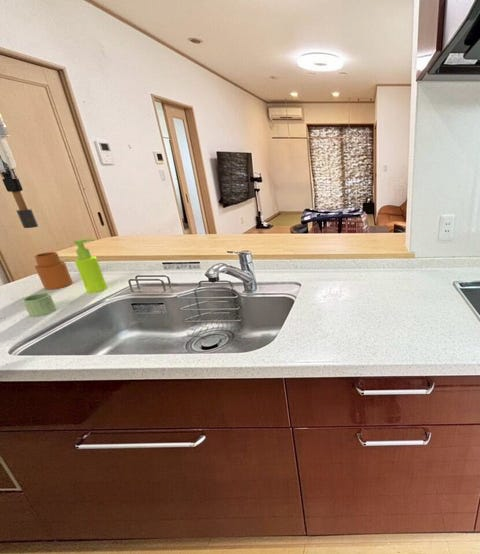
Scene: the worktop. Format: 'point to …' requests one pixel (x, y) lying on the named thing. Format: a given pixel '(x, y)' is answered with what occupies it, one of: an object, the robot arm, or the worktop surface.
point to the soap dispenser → (89, 268)
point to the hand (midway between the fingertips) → (15, 190)
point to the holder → (39, 304)
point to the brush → (24, 212)
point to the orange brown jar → (52, 271)
